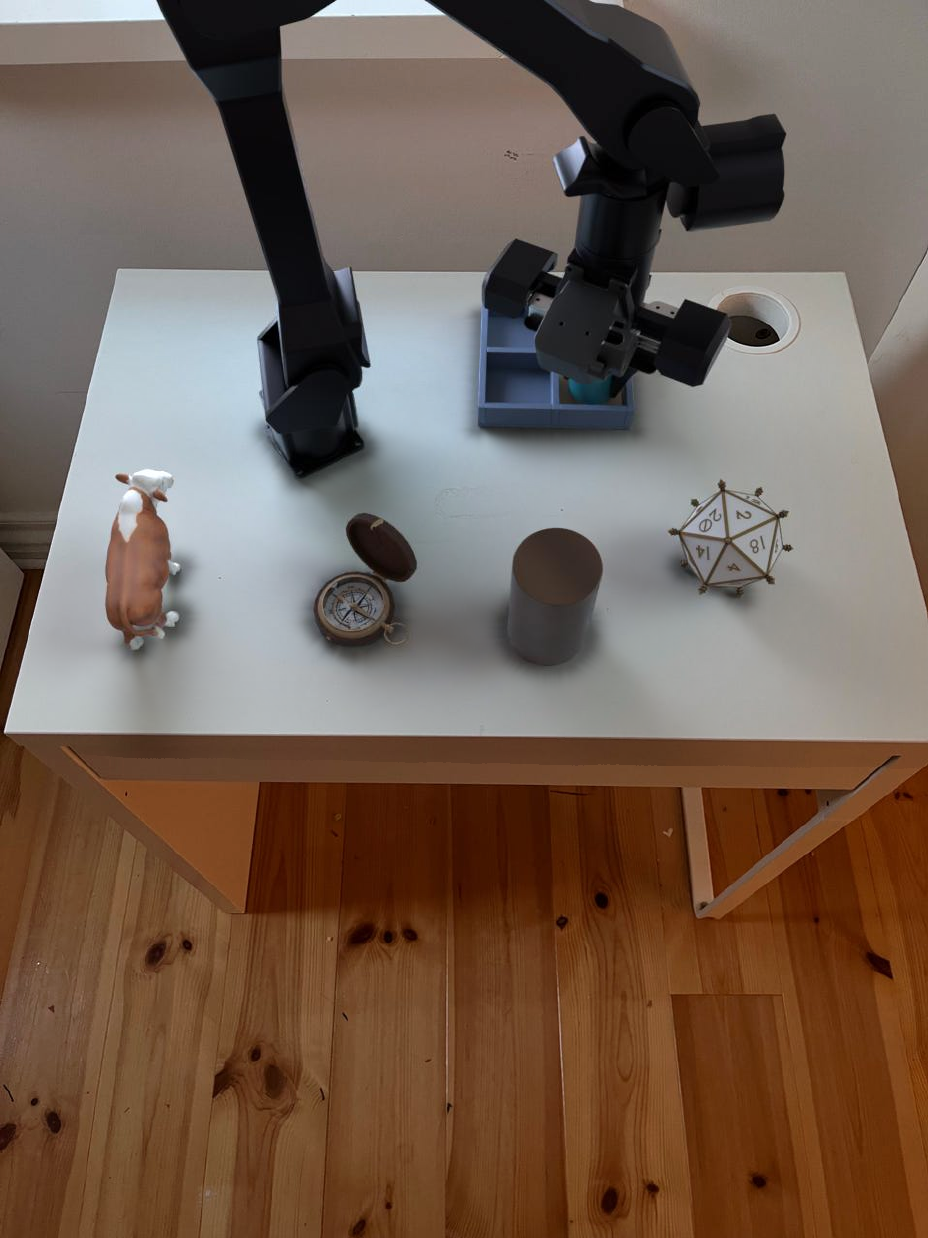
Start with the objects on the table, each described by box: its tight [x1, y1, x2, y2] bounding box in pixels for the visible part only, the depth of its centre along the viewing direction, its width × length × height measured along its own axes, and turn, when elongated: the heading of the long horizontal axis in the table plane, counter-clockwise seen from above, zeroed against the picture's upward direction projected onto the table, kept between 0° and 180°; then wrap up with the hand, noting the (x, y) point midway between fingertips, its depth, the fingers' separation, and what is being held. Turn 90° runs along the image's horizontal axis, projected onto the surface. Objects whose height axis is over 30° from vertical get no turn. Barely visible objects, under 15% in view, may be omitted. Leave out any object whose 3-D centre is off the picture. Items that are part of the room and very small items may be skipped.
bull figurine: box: [104, 469, 182, 651], centre depth 66 cm, size 4×13×8 cm, turn 179°
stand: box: [507, 527, 604, 666], centre depth 64 cm, size 6×6×10 cm
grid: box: [477, 298, 635, 430], centre depth 78 cm, size 13×13×2 cm
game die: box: [667, 478, 795, 598], centre depth 67 cm, size 9×8×10 cm
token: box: [568, 375, 615, 405], centre depth 75 cm, size 4×4×4 cm
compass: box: [313, 512, 418, 647], centre depth 65 cm, size 8×8×7 cm
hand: (591, 385), depth 77 cm, fingers closed on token, 4 cm apart
